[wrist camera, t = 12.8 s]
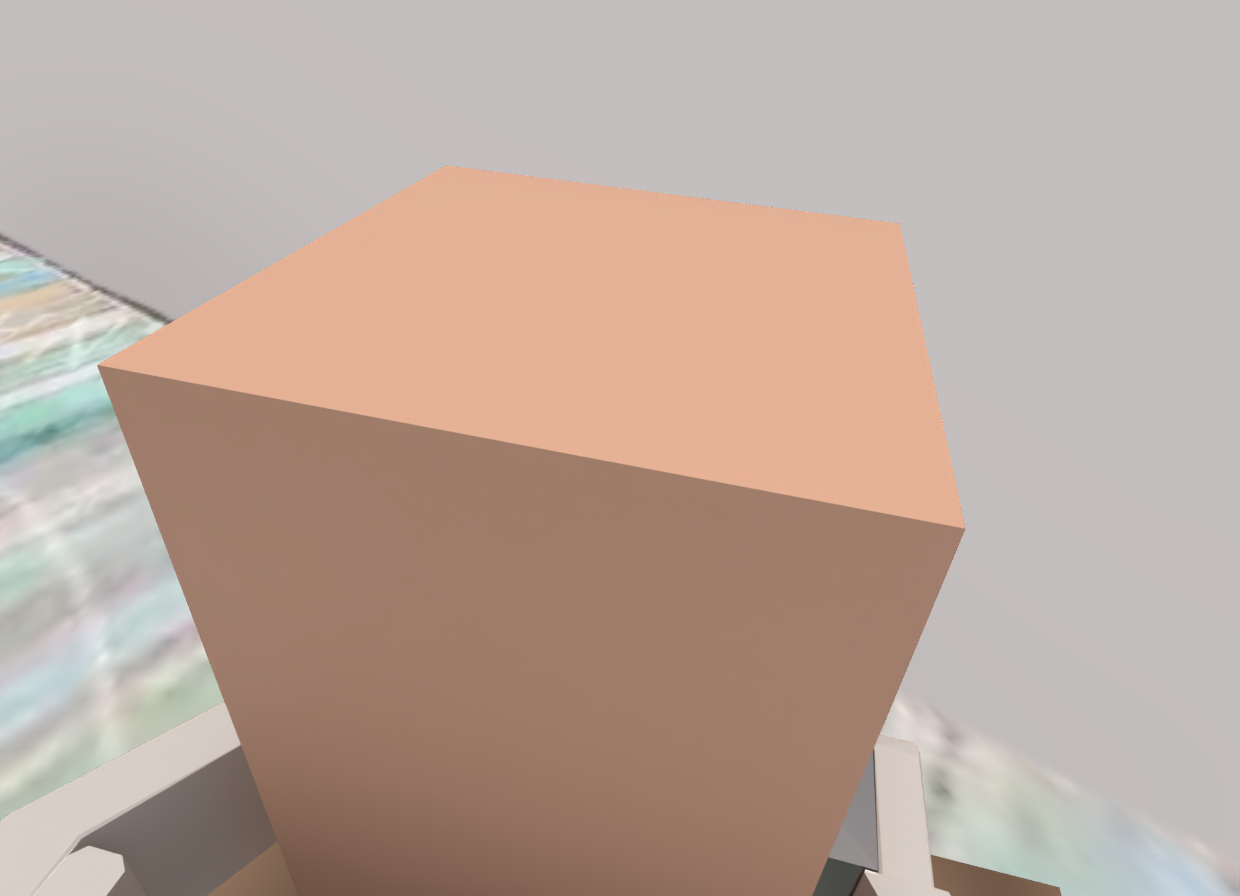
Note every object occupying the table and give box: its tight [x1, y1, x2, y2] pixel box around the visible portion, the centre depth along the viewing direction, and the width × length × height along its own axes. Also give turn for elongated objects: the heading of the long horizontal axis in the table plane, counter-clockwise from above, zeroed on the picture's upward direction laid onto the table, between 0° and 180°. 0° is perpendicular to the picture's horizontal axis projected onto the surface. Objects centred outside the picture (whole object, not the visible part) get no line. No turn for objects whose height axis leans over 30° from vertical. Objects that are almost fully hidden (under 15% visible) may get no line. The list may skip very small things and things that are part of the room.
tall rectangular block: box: [97, 166, 965, 896], centre depth 9 cm, size 4×4×13 cm
